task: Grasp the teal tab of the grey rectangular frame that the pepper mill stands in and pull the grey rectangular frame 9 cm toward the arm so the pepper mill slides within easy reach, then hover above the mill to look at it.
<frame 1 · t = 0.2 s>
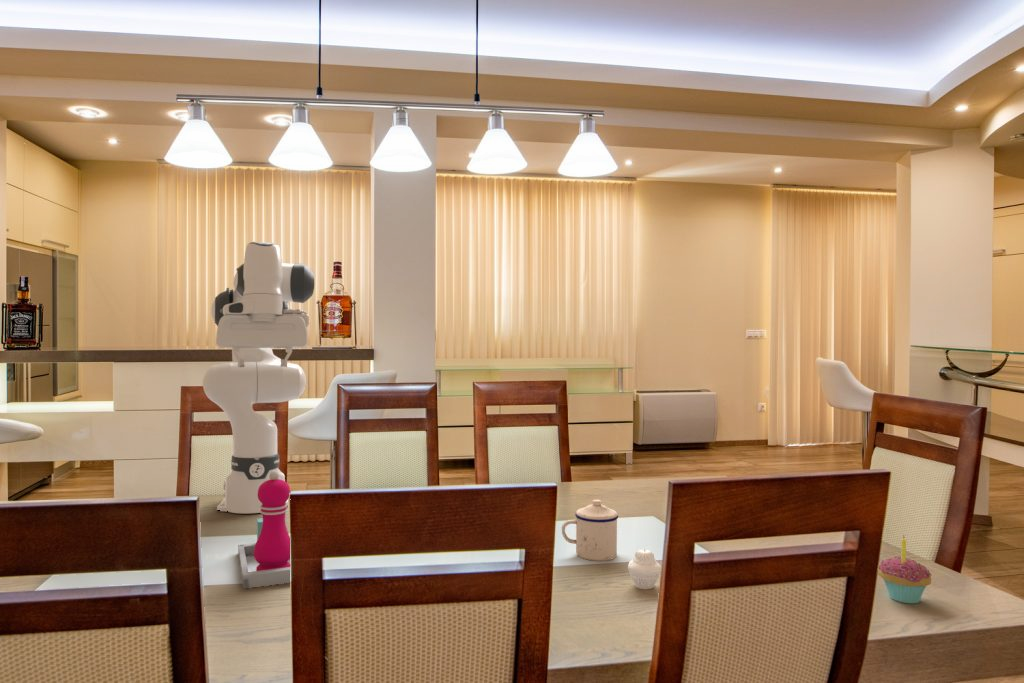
hand: (262, 367, 160), 39 cm above the table, tool pointing down, fingers open, 8 cm apart
pepper mill: (273, 575, 132), resting in grey rectangular frame
small white lidded pot: (644, 587, 127), on the table
teacup with lid: (589, 555, 146), on the table
cupcake: (903, 599, 123), on the table
grey rectangular frame: (271, 548, 136), point 3 cm above the table, slide at 0.0 cm
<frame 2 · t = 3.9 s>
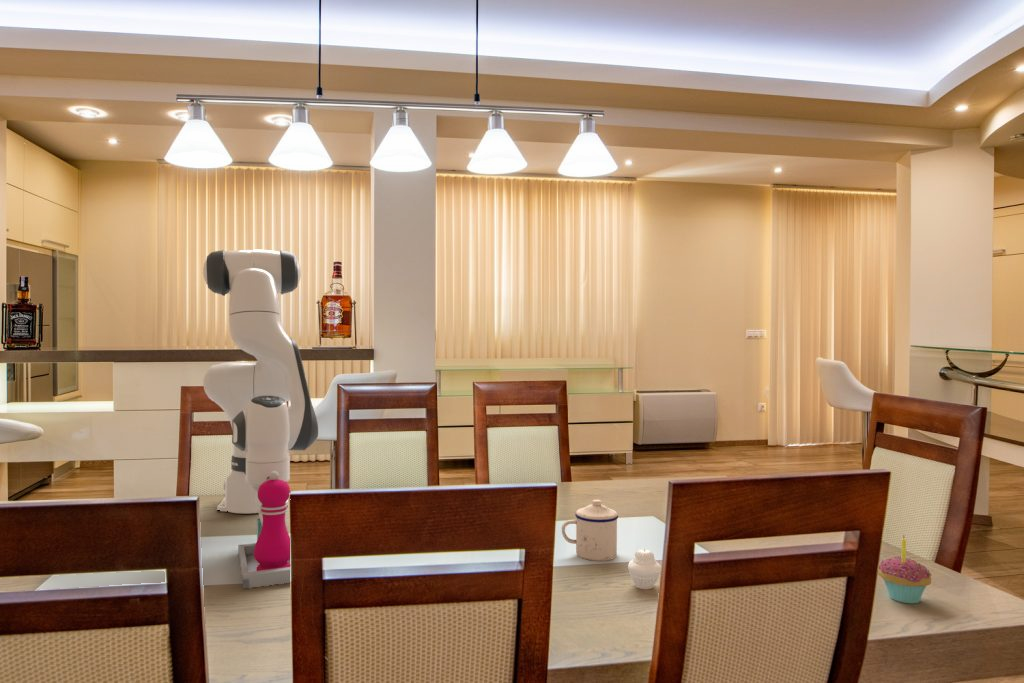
hand: (267, 537, 145), 3 cm above the table, tool pointing down, fingers closed on grey rectangular frame, 3 cm apart
grey rectangular frame: (271, 548, 136), point 4 cm above the table, slide at 0.0 cm, touching gripper
everything else where it was.
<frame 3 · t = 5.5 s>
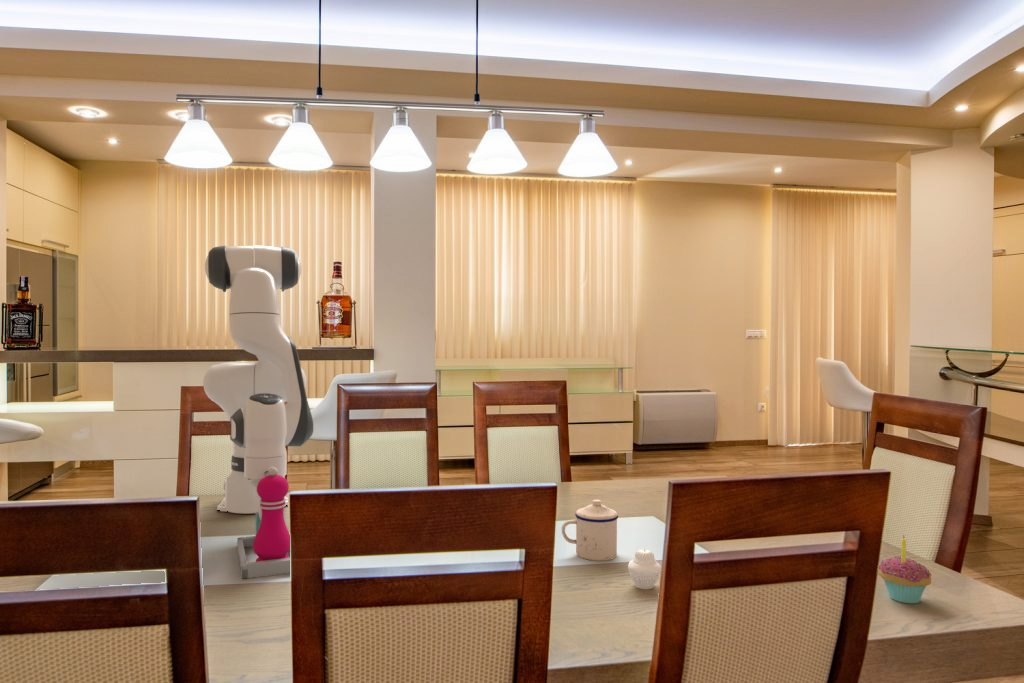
hand: (265, 530, 150), 3 cm above the table, tool pointing down, fingers open, 4 cm apart
pepper mill: (272, 568, 136), resting in grey rectangular frame
grey rectangular frame: (269, 541, 141), point 3 cm above the table, slide at 5.6 cm, touching gripper, pepper mill
everything else where it was.
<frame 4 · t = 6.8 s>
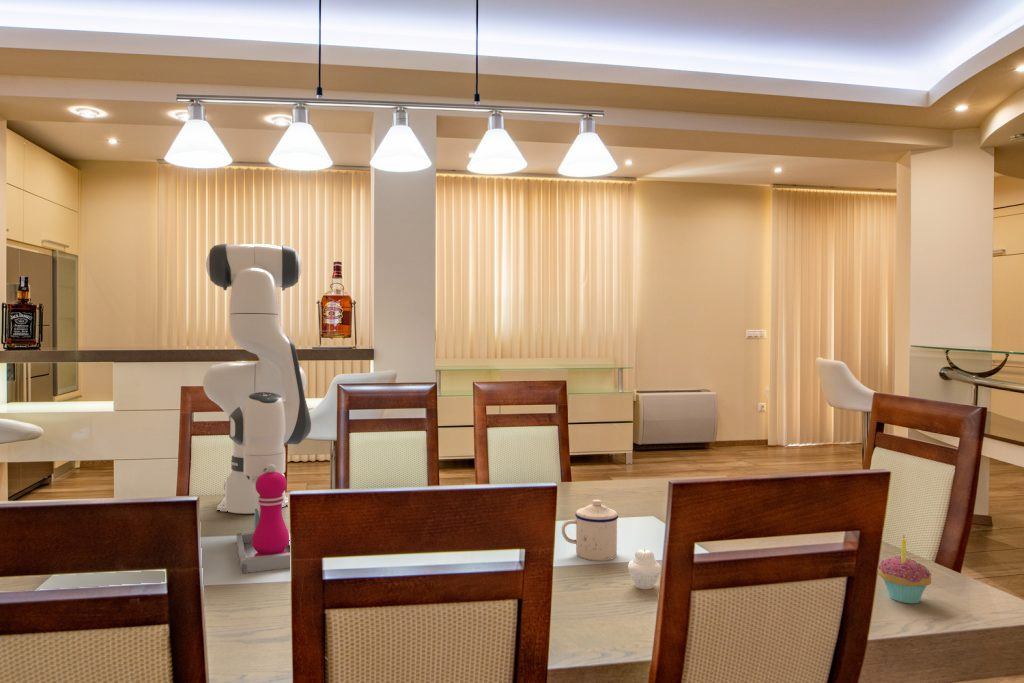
hand: (264, 526, 153), 3 cm above the table, tool pointing down, fingers closed on grey rectangular frame, 3 cm apart
pepper mill: (270, 563, 139), resting in grey rectangular frame
grey rectangular frame: (267, 536, 144), point 4 cm above the table, slide at 8.9 cm, touching gripper, pepper mill
everything else where it was.
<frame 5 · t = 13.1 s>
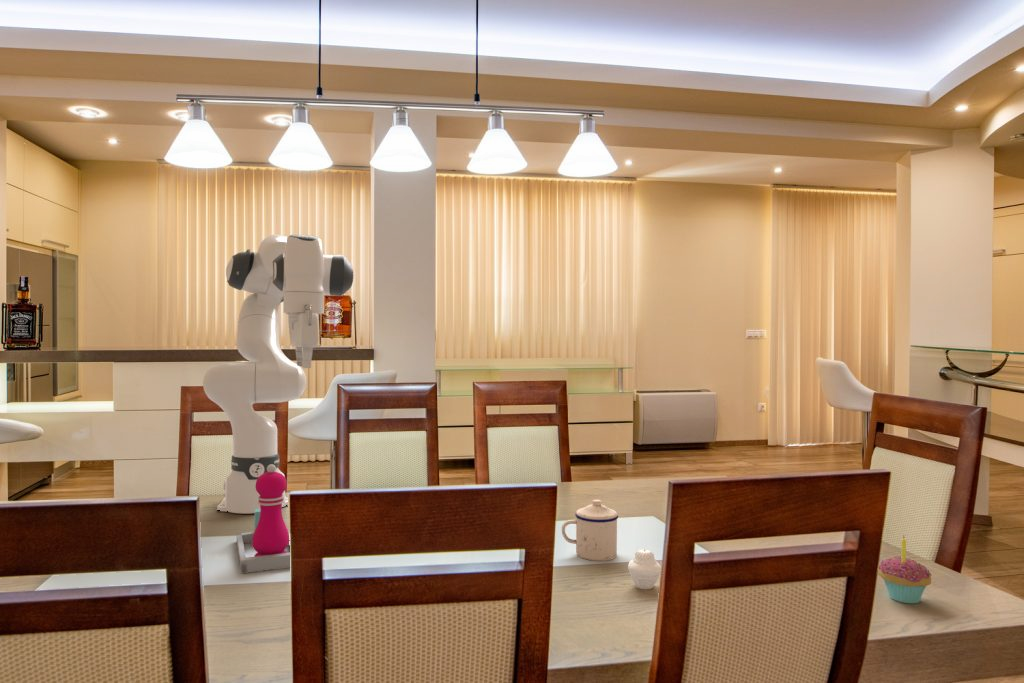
hand: (303, 367, 154), 39 cm above the table, tool pointing down, fingers open, 8 cm apart
pepper mill: (270, 563, 139), resting in grey rectangular frame
grey rectangular frame: (267, 536, 144), point 4 cm above the table, slide at 8.9 cm
everything else where it was.
at the end: grey rectangular frame slide at 8.9 cm; pepper mill inside the target area (1.9 cm from its centre), resting in grey rectangular frame; pepper mill tilted 0° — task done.
